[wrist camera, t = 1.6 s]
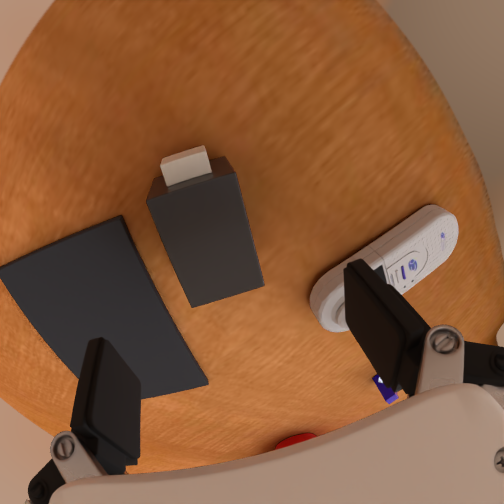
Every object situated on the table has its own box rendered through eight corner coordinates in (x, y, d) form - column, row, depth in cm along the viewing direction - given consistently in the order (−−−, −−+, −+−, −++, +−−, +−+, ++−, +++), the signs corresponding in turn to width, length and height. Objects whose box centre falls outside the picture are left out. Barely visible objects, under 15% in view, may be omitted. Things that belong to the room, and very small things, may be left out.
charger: (147, 160, 16) (136, 178, 13) (220, 136, 16) (229, 148, 13) (189, 271, 21) (191, 308, 17) (251, 252, 21) (265, 286, 17)
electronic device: (513, 290, 17) (370, 409, 17) (442, 236, 25) (319, 323, 26) (522, 242, 14) (356, 381, 15) (436, 192, 22) (296, 285, 23)
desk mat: (-1, 267, 17) (-5, 271, 16) (121, 214, 17) (119, 218, 17) (105, 400, 26) (105, 405, 26) (208, 380, 27) (208, 384, 26)
